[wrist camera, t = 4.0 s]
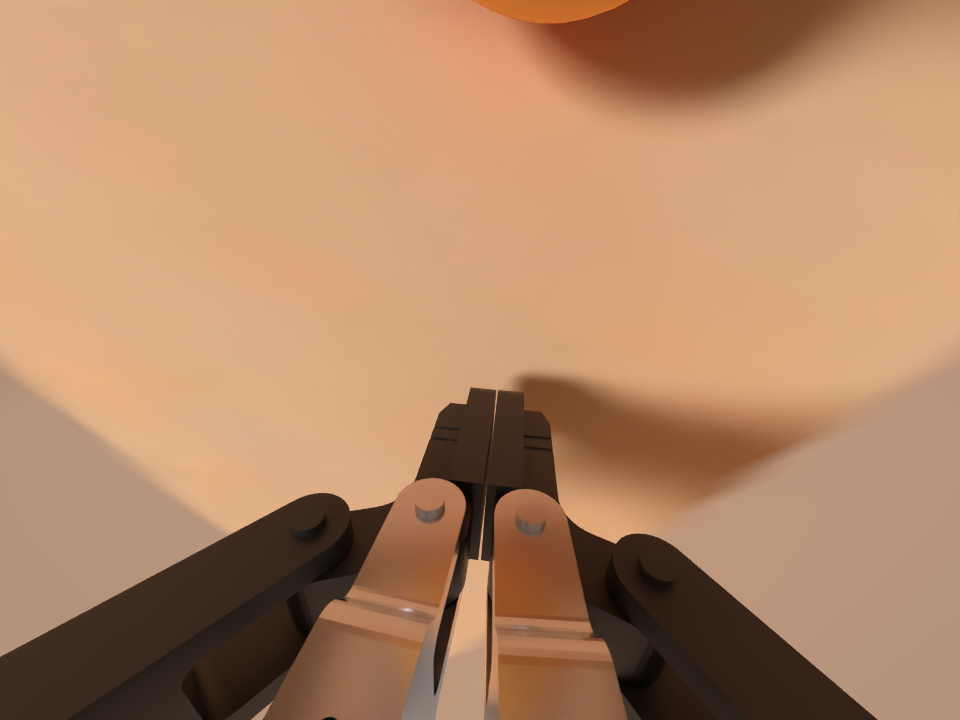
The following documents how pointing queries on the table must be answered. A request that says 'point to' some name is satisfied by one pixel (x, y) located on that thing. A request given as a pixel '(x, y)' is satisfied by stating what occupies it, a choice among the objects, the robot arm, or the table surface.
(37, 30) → the table surface
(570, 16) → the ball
